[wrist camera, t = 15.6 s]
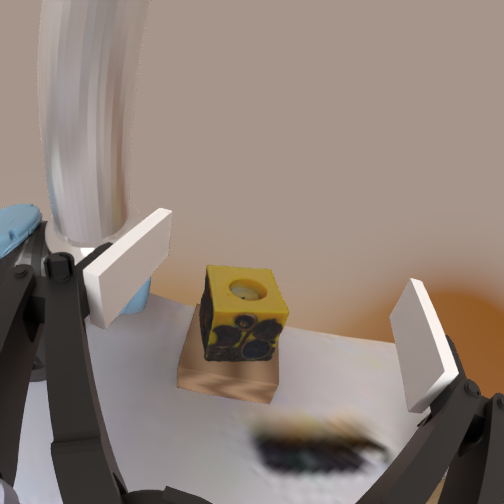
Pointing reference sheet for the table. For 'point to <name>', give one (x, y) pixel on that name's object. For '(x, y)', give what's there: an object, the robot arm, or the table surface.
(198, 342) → the wooden box
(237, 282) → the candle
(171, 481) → the table surface
